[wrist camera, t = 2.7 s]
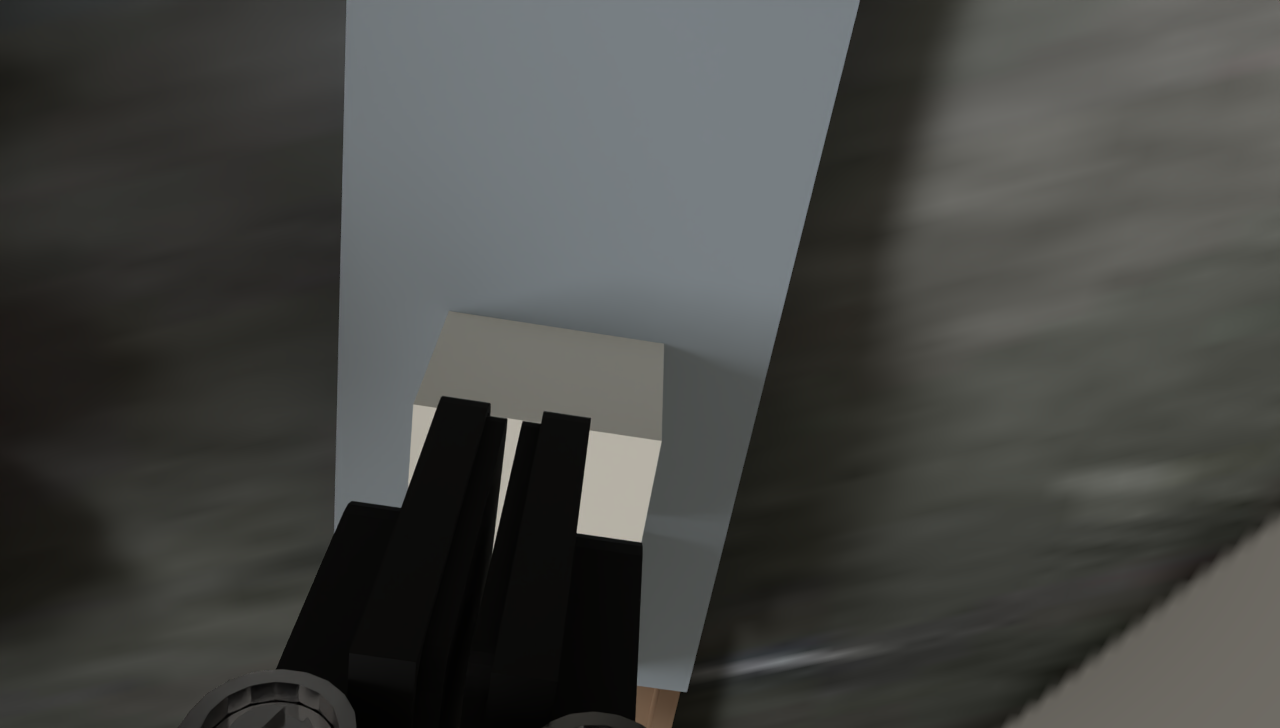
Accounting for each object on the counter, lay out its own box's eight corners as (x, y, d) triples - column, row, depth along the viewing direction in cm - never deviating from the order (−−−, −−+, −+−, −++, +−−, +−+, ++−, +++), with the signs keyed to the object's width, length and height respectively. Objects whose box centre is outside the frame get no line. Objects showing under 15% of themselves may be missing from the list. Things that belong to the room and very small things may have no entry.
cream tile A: (448, 310, 26) (413, 404, 22) (664, 343, 26) (661, 441, 23) (435, 484, 28) (400, 592, 25) (631, 512, 29) (624, 623, 25)
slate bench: (380, -144, 23) (349, -129, 21) (852, -63, 24) (869, -39, 22) (353, 583, 33) (331, 643, 31) (686, 629, 34) (686, 692, 32)
